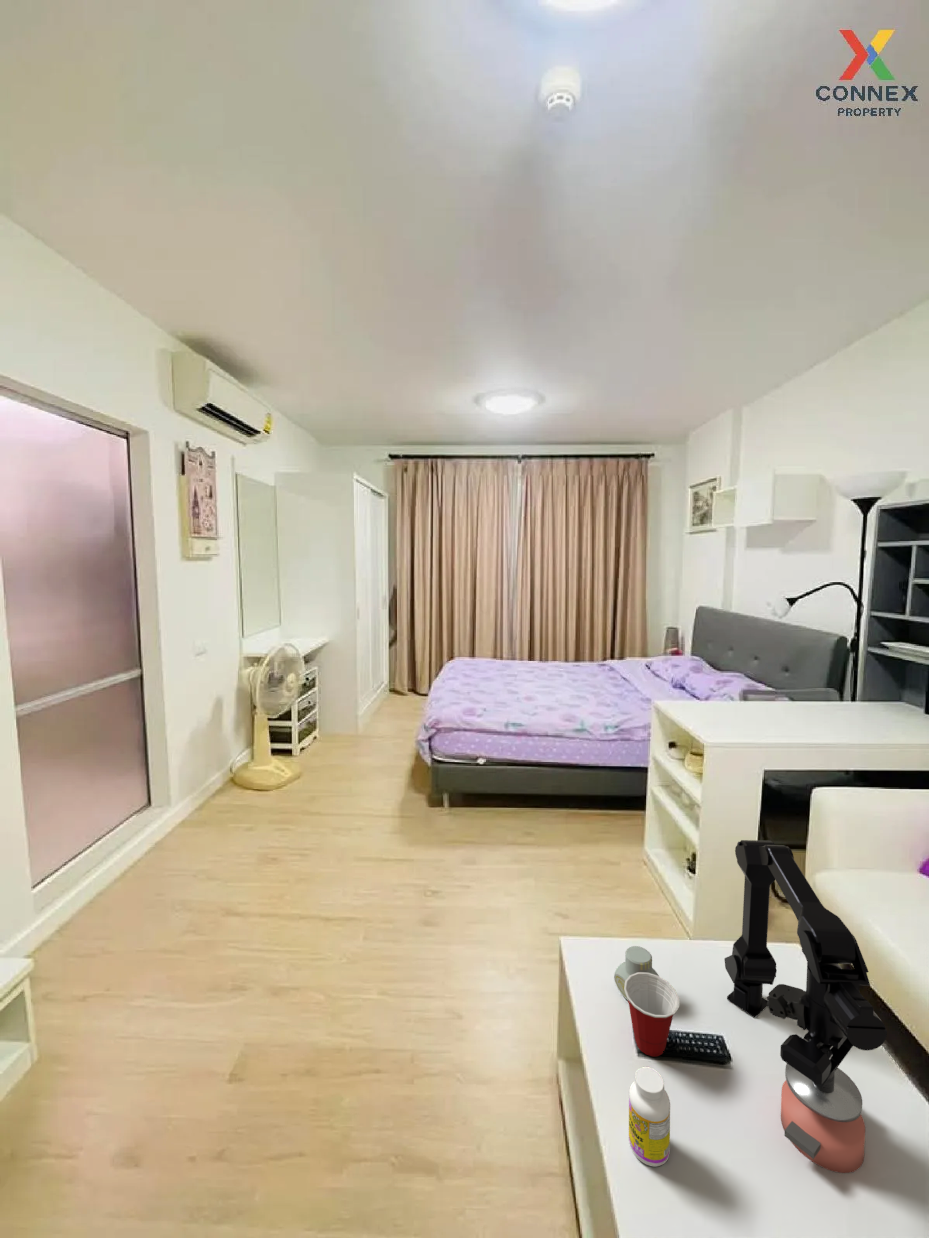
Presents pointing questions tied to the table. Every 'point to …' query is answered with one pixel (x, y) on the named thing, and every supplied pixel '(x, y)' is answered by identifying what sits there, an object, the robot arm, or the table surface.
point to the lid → (827, 1095)
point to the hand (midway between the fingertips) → (822, 1080)
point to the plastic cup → (651, 1010)
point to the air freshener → (633, 966)
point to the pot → (822, 1135)
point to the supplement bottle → (649, 1117)
